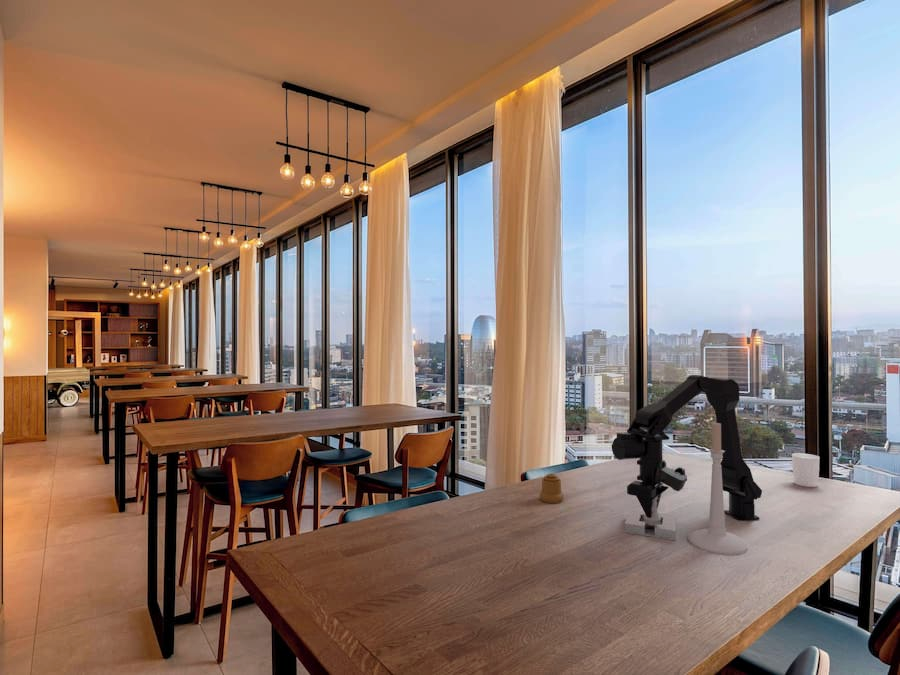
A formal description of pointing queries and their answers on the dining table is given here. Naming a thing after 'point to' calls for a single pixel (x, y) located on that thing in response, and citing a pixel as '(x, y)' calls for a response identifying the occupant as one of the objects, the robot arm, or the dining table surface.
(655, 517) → the rook chess piece
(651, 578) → the dining table surface
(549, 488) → the ornamental finial
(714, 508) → the candlestick
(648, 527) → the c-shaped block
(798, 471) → the white cup
